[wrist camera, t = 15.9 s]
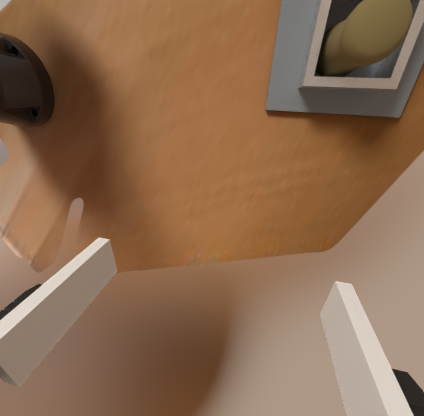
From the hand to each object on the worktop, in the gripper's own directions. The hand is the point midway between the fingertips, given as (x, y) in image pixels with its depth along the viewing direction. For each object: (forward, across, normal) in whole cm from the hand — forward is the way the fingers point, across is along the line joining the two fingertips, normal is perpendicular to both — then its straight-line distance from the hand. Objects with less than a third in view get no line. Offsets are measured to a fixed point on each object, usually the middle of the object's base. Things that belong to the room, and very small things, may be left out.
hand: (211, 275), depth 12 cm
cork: (+27, +10, +15) cm, 33 cm away
